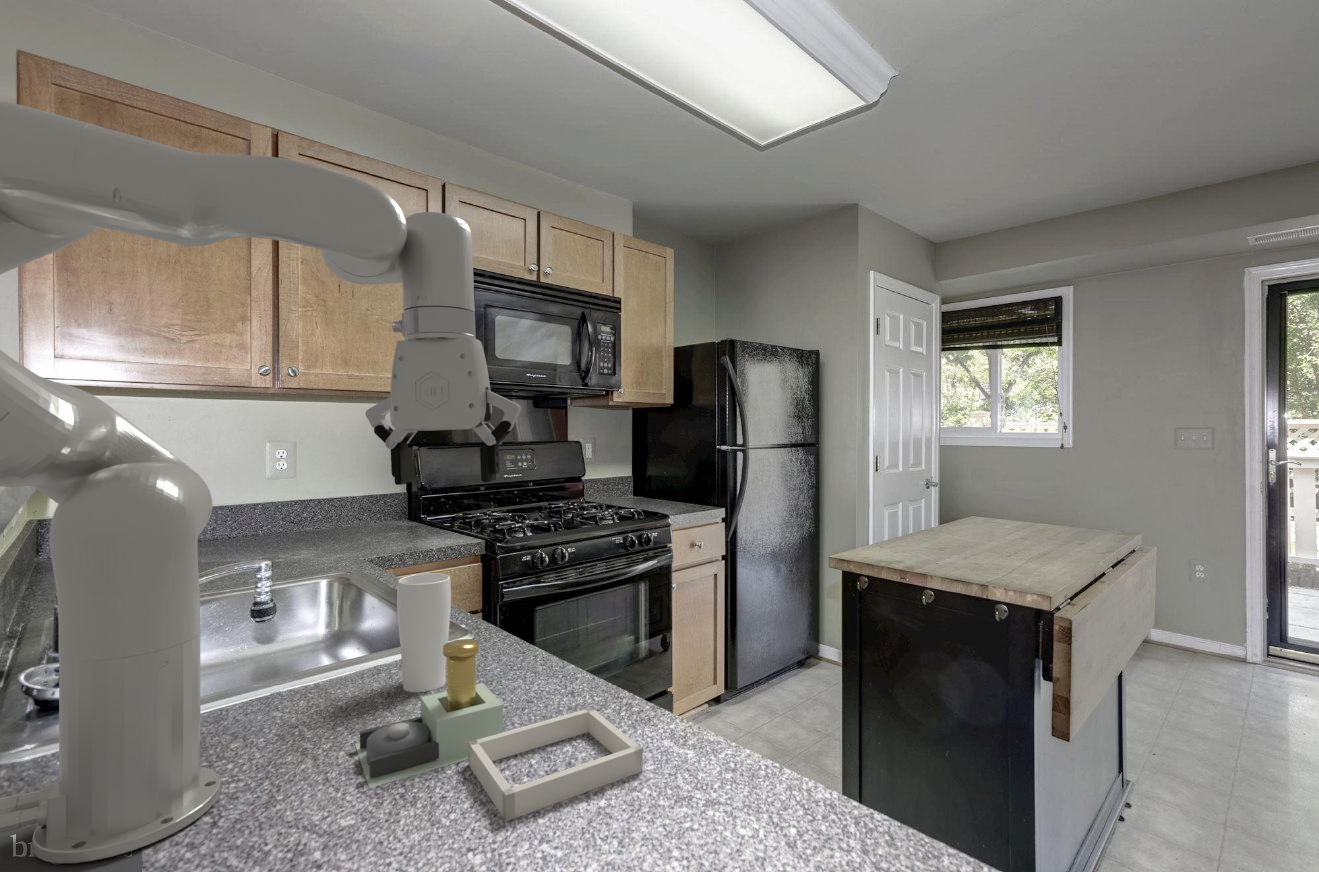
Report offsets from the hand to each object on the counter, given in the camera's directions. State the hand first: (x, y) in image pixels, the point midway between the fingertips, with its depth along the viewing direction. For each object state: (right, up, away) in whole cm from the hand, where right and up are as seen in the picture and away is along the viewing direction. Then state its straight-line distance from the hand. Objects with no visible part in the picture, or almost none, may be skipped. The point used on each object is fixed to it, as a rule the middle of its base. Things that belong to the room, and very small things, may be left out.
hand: (446, 482), depth 68 cm
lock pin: (+2, -28, -1) cm, 28 cm away
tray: (+13, -29, -7) cm, 33 cm away
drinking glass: (-8, -29, +14) cm, 33 cm away
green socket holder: (0, -29, -3) cm, 29 cm away
